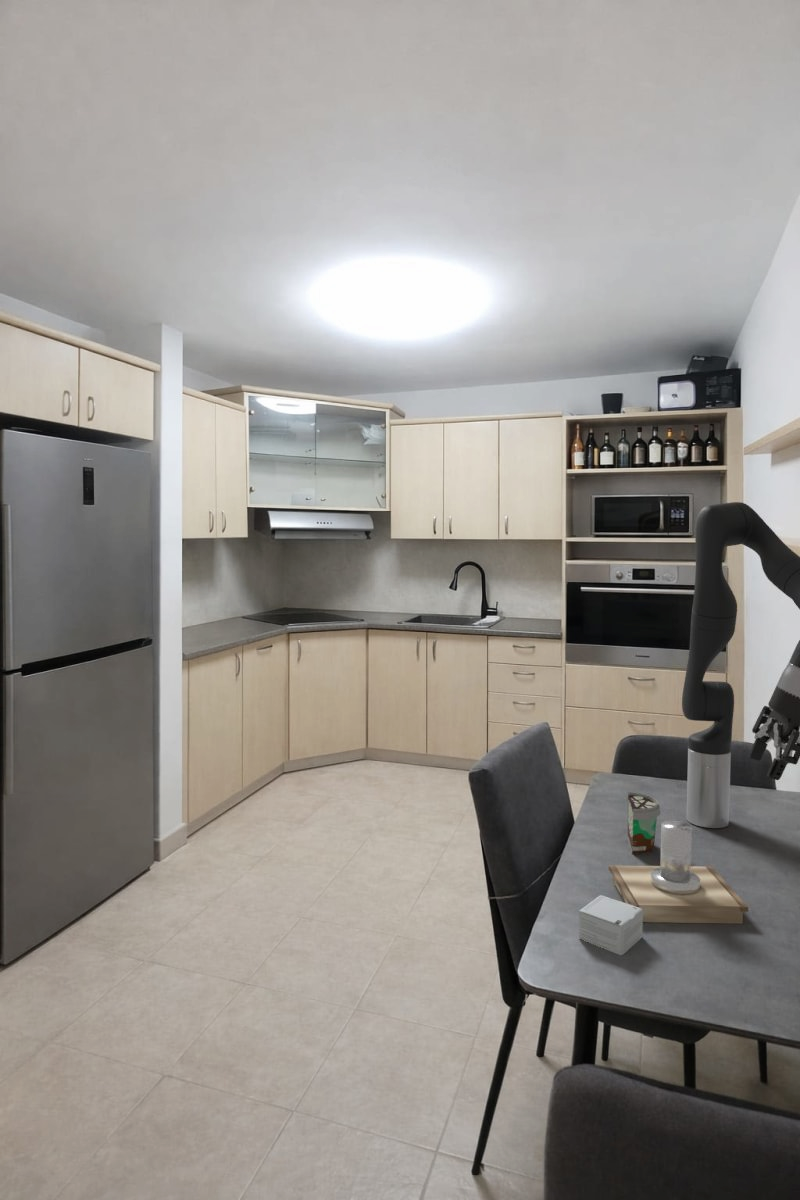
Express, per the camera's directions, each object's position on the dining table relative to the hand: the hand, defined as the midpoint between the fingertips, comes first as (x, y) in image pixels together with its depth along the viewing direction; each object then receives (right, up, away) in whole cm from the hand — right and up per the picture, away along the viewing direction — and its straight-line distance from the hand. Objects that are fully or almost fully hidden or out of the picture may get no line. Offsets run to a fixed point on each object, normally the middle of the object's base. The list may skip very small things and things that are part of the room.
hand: (763, 768), depth 141 cm
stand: (-19, -23, -6) cm, 31 cm away
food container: (-17, -21, +19) cm, 33 cm away
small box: (-35, -24, -19) cm, 46 cm away
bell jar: (-19, -20, -7) cm, 28 cm away
